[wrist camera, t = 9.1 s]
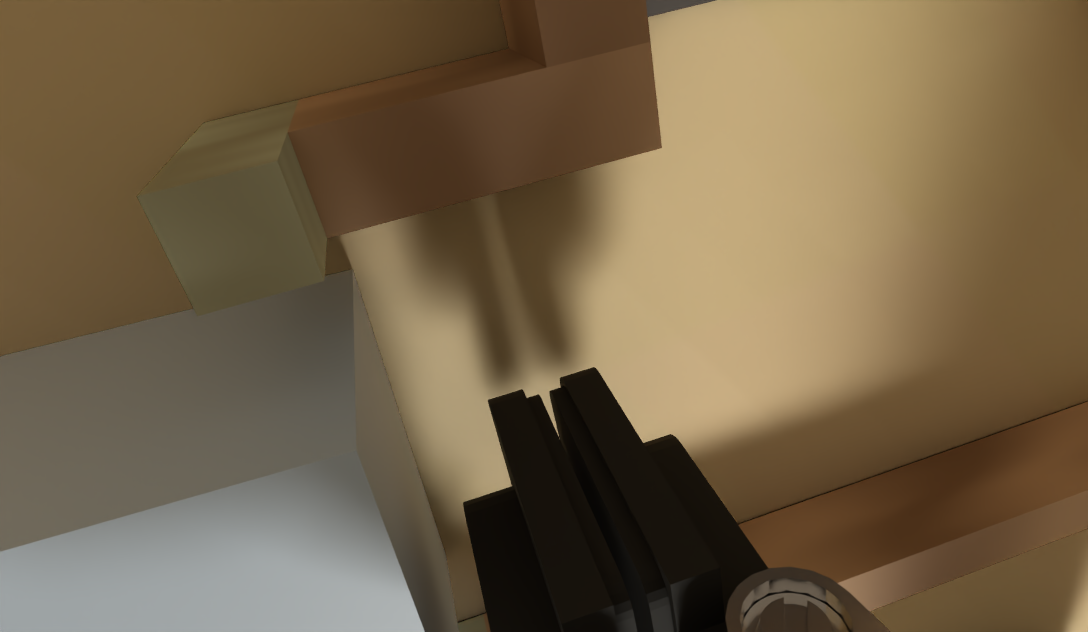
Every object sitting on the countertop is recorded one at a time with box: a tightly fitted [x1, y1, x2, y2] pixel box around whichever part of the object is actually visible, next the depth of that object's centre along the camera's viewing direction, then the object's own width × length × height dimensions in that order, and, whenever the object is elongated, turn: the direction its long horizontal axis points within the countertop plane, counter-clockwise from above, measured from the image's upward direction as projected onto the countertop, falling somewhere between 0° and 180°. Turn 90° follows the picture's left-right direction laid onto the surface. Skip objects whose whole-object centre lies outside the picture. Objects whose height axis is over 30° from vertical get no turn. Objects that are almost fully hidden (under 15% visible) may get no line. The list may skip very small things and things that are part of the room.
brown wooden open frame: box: [137, 0, 1088, 632], centre depth 10 cm, size 19×18×3 cm
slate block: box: [0, 269, 459, 632], centre depth 9 cm, size 6×6×4 cm
